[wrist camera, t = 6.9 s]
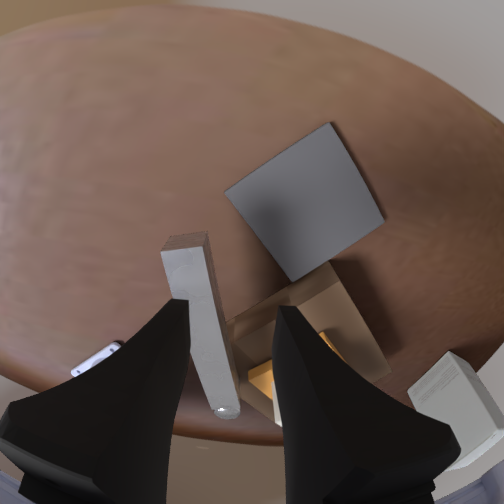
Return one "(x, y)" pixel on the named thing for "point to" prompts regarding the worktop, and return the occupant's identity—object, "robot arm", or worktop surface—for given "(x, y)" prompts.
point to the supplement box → (459, 406)
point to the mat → (307, 202)
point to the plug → (265, 380)
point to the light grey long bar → (204, 319)
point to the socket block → (322, 320)
